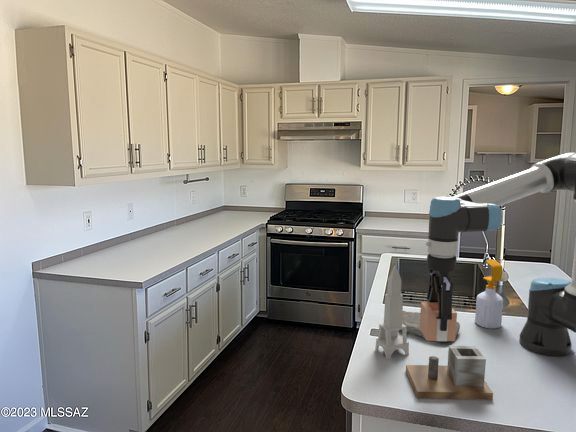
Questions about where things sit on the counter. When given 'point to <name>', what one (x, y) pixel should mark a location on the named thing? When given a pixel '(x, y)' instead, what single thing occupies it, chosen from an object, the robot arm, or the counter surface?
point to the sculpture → (393, 318)
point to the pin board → (443, 385)
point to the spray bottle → (490, 300)
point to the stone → (417, 323)
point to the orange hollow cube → (435, 321)
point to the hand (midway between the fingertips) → (436, 333)
